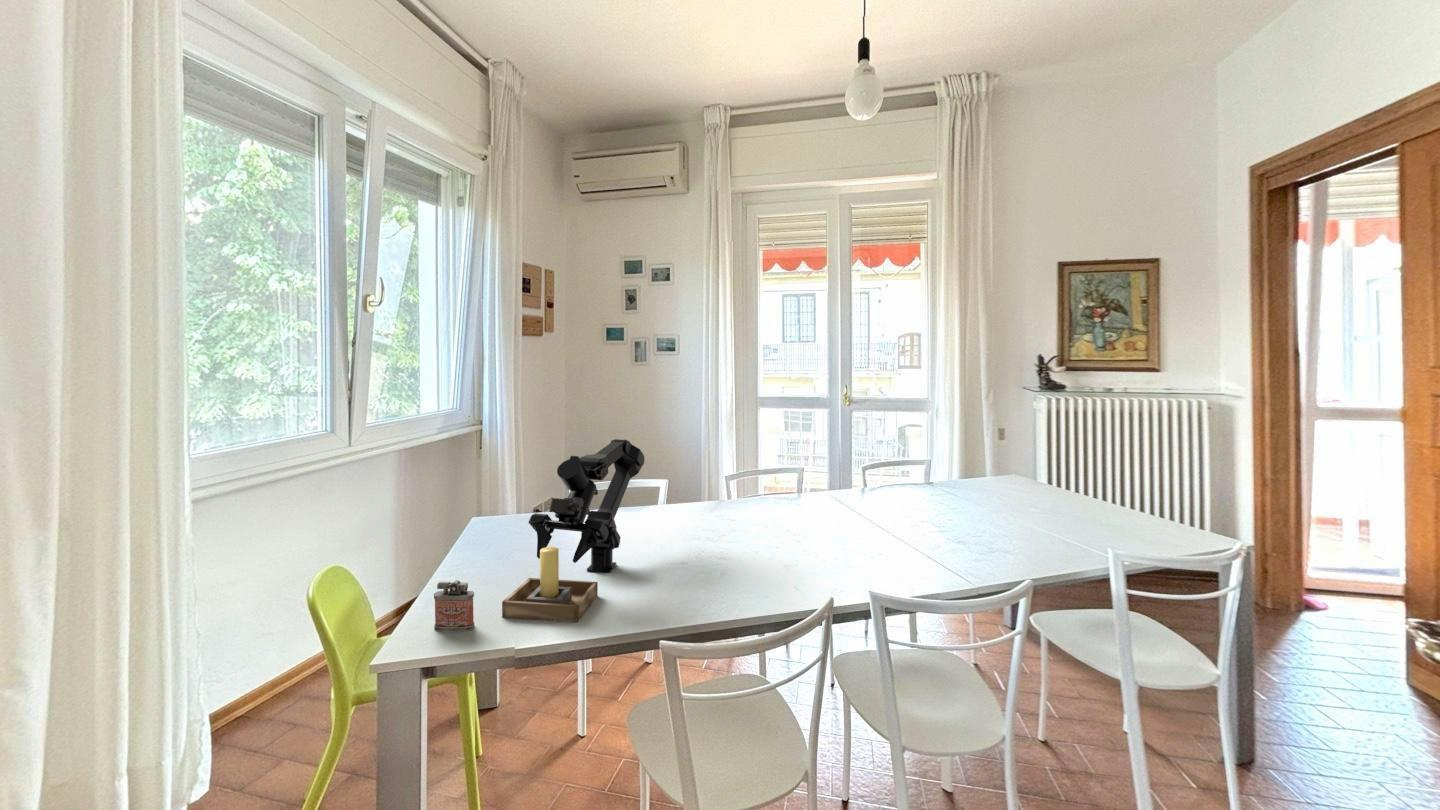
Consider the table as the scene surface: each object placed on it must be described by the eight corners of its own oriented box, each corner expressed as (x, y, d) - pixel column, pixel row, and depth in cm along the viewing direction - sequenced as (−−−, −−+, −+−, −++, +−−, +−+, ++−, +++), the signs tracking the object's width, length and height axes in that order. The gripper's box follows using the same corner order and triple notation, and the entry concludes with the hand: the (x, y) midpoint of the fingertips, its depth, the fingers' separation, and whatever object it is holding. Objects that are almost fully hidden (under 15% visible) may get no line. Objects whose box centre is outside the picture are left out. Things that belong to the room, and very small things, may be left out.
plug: (552, 600, 134) (552, 545, 133) (561, 605, 132) (561, 549, 131) (537, 605, 132) (536, 549, 130) (545, 611, 129) (545, 553, 128)
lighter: (477, 624, 124) (476, 578, 123) (470, 631, 120) (470, 584, 119) (438, 624, 123) (437, 578, 123) (431, 631, 120) (430, 584, 119)
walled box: (529, 591, 141) (529, 576, 141) (597, 596, 139) (597, 580, 139) (502, 617, 127) (502, 600, 127) (577, 622, 125) (577, 605, 125)
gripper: (532, 480, 139) (505, 539, 130) (603, 486, 135) (580, 548, 125) (550, 504, 148) (525, 561, 138) (617, 510, 143) (597, 570, 133)
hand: (556, 559), depth 134 cm, fingers open, 9 cm apart
